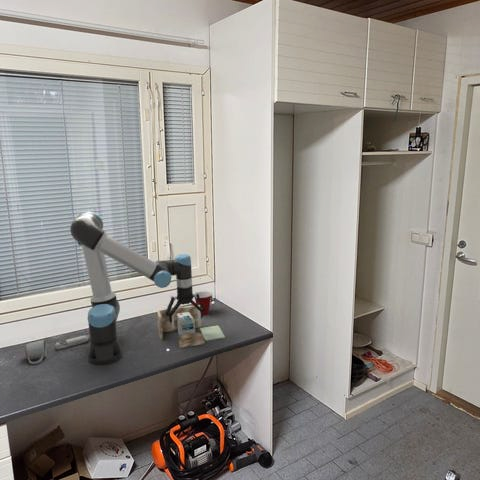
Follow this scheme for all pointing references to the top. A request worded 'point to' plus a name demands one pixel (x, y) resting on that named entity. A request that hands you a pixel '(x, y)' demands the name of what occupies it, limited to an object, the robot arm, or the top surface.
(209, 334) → the mat
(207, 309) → the plastic cup
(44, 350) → the ceramic mug
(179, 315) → the light bulb box
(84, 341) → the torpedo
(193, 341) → the offcut stack
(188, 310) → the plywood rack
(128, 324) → the top surface
